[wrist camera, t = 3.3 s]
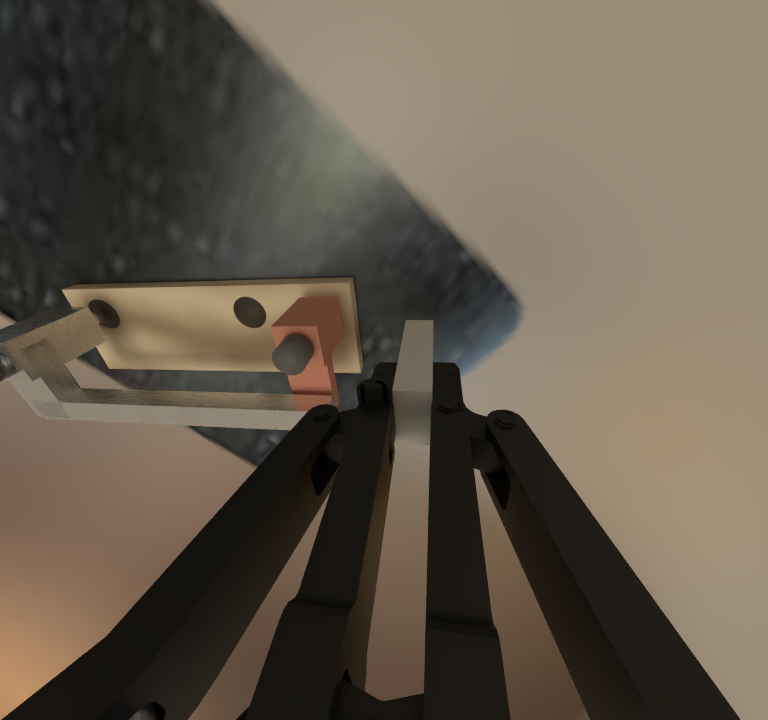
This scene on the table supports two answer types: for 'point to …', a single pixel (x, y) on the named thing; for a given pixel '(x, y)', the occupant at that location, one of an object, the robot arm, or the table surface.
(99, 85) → the table surface
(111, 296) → the bolt plate
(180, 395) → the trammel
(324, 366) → the slide leg
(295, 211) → the table surface
